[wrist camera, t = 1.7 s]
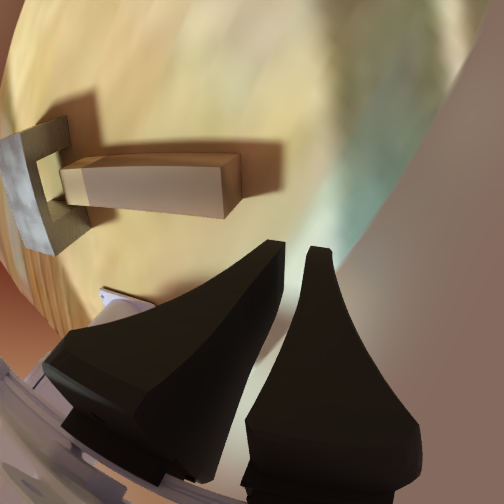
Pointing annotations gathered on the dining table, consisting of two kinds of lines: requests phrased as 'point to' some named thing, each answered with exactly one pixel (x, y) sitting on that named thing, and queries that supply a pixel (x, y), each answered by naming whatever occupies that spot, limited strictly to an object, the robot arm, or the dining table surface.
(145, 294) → the dining table surface
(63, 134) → the sleeve housing
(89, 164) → the capped rod
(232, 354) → the robot arm
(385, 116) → the dining table surface
